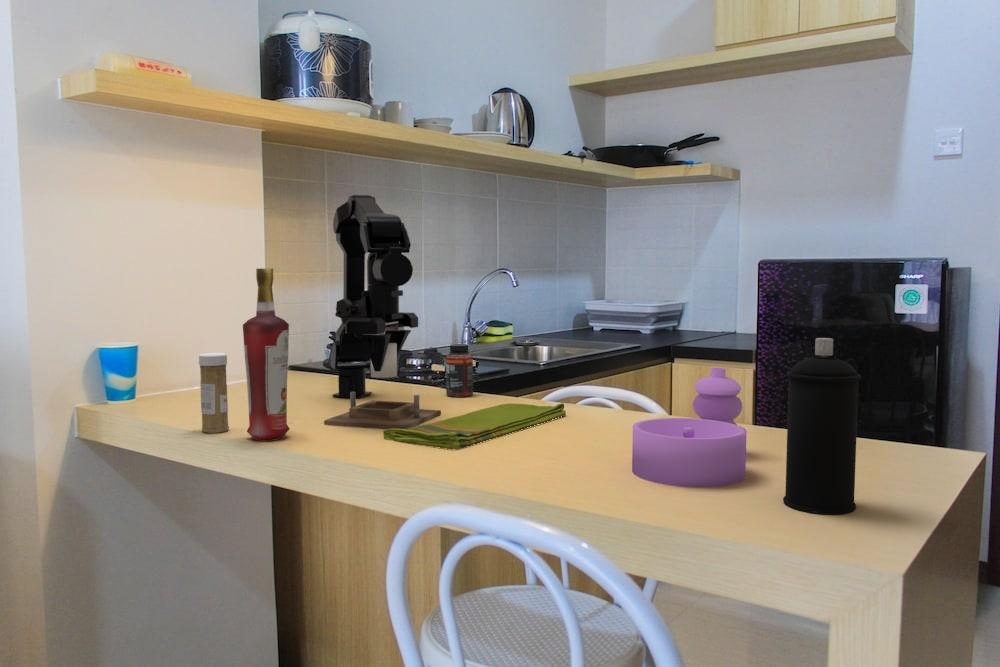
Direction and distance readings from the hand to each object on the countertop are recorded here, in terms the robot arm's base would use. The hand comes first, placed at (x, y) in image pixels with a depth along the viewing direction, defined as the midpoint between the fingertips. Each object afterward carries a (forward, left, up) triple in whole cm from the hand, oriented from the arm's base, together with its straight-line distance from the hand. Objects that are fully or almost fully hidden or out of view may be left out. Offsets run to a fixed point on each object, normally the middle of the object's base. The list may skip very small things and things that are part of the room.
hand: (383, 369), depth 155 cm
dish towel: (+1, +19, -10) cm, 22 cm away
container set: (+18, +59, -10) cm, 62 cm away
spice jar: (+19, -23, -10) cm, 31 cm away
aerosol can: (+34, +74, -10) cm, 82 cm away
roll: (0, 0, -1) cm, 1 cm away
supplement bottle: (-31, +3, -10) cm, 33 cm away
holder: (0, 0, -9) cm, 9 cm away
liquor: (+21, -11, -10) cm, 26 cm away
